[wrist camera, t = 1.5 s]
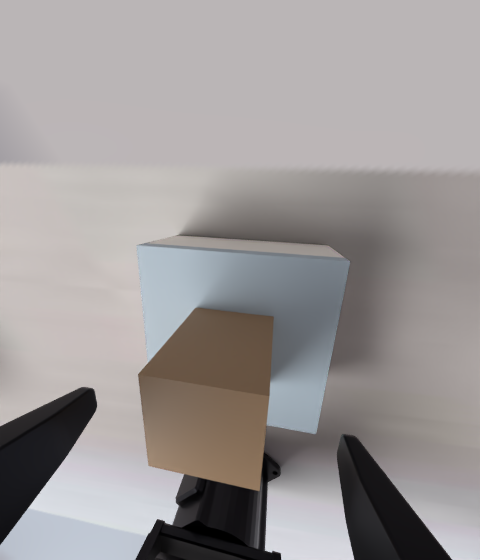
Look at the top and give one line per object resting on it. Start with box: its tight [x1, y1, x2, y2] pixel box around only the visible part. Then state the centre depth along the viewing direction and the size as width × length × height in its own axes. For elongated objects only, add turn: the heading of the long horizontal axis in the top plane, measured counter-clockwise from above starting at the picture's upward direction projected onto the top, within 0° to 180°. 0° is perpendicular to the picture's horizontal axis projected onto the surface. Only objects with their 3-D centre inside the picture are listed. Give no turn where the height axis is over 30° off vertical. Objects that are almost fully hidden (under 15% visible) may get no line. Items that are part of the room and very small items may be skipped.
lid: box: [137, 243, 350, 491], centre depth 10 cm, size 10×10×6 cm
